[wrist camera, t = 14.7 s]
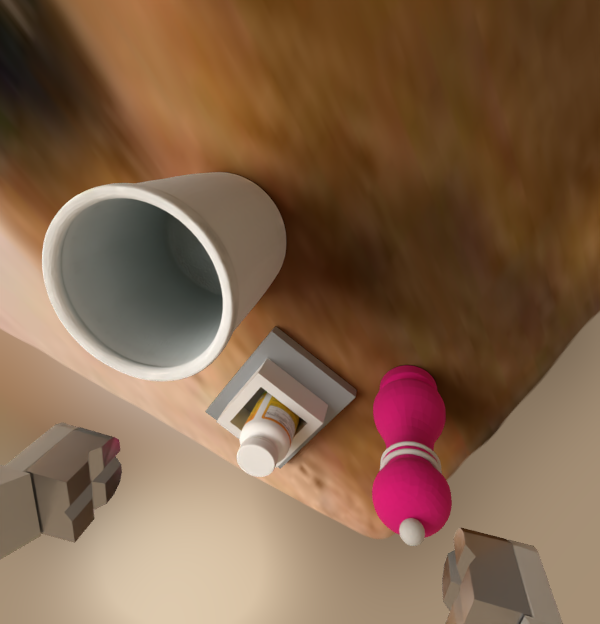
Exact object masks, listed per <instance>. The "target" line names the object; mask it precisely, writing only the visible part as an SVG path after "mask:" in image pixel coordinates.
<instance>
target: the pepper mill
mask: <svg viewBox="0 0 600 624" xmlns="http://www.w3.org/2000/svg"><path fill="white" fill-rule="evenodd" d="M373 415H374V421H375V424H376V427H377V430H378V432H379V433H380V435H381V436H382V438H383V439H384V441H385V443H386V450H385V451H384V453H383V455H382V457H381V462H380V463H381V466H380V471H379V472H378V474H377V476H376V478H375V481H374V483H373V490H372V496H373V503H374V507H375V510H376V512H377V515H378V517H379V518H380V519H381V521H382V522H383V523H384V524H385V525H386V526H387V527H388V528H389V529H391V530H392V531H394V532H395V533H397V534H399V535H400V536H401V538H402V540H403V541H404V542H405V543H406V544H408V545H411V546H416V545H419V544H421V543H422V541H423V540H424V538H425V537H428V536H431V535H432V534H434V533H436V532H438V531H439V530H440V529H441V528H442V527H443V526H444V525H445V523H446V521H447V520H448V518H449V515H450V511H451V505H452V501H451V492H450V488H449V485H448V483H447V481H446V479H445V478H444V476H443V475H442V471H441V464H440V460H439V458H438V456H437V455H436V454H435V452H434V451H433V448H434V443H435V442H436V440H437V439H438V438H439V436H440V435H441V433H442V430H443V428H444V425H445V420H446V414H445V405H444V402H443V400H442V397H441V396H440V394H439V393H438V391H437V385H436V382H435V380H434V379H433V377H432V376H431V375H430V374H429V373H428V372H427V371H425V370H423V369H421V368H419V367H416V366H409V365H405V366H399V367H396V368H394V369H392V370H390V371H389V372H387V373H386V374H385V375H384V377H383V378H382V380H381V383H380V391H379V392H378V394H377V396H376V398H375V401H374V405H373Z"/></svg>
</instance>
